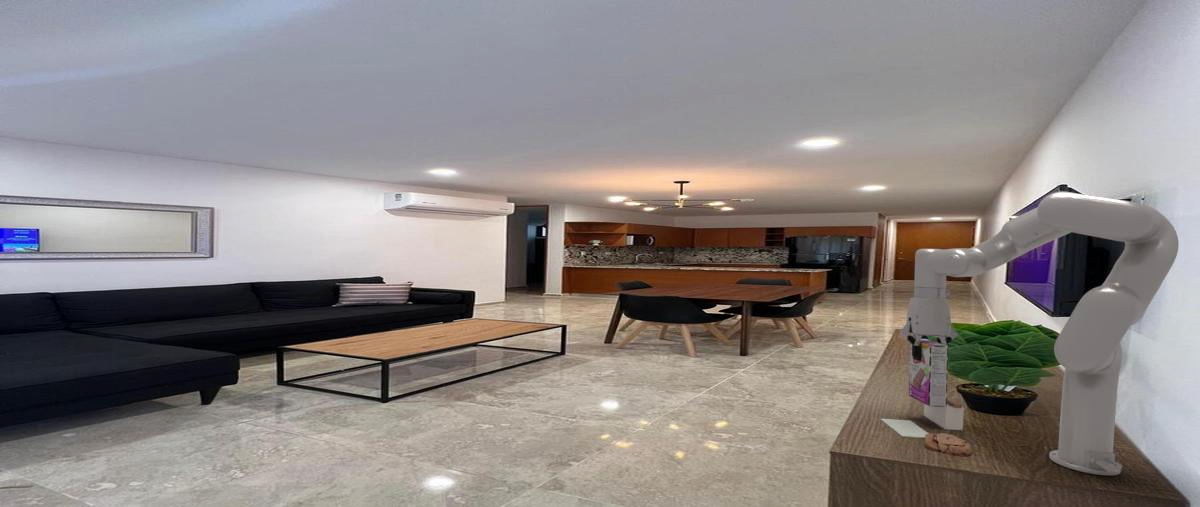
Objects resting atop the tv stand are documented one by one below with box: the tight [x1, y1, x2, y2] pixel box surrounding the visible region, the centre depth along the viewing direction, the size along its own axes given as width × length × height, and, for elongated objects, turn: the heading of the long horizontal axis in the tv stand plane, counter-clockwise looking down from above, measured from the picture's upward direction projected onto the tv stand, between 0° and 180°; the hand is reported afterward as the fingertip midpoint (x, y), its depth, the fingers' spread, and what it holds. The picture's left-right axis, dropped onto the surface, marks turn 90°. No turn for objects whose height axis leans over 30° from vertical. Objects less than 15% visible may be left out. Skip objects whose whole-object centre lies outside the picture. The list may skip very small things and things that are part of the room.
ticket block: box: [921, 396, 965, 431], centre depth 162 cm, size 13×5×7 cm, turn 175°
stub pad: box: [879, 418, 929, 439], centre depth 155 cm, size 14×8×1 cm, turn 175°
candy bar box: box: [908, 338, 949, 407], centre depth 161 cm, size 11×5×16 cm, turn 179°
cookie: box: [923, 432, 973, 457], centre depth 142 cm, size 10×11×3 cm
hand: (927, 359), depth 161 cm, fingers closed on candy bar box, 5 cm apart
